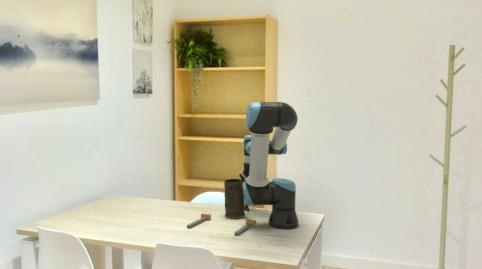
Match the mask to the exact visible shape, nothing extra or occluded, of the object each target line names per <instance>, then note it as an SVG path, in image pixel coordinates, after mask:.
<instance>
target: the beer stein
mask: <svg viewBox="0 0 482 269" xmlns="http://www.w3.org/2000/svg"><path fill="white" fill-rule="evenodd" d="M223 184H224V211H225V216H224V217H225V218H227V219H240V218H244V217H245V216H246V213H245V212H250V208H249V206H250V205H246V204H245V200H244V193H243V182H242V180H241V178H240V179H239V178H231V179H226V180H224V183H223Z"/></svg>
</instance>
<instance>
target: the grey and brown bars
mask: <svg viewBox="0 0 482 269" xmlns="http://www.w3.org/2000/svg"><path fill="white" fill-rule="evenodd" d="M206 221H208V222H209V221H212V214H211V213H204V212H202V213H201V214H200V218H199V219H196V220H194V221H193V222H191V223H189V224H187V225H186V228H187V229H188V230H190V229H193V228H195V227H197V226H199V225H200V224H202V223H204V222H206ZM255 227H257V220H256V219H249V218H247V219H245V225H244V226H242V227H241V228H239V229H238V230H236V231H235V232H234V236H236V237H239V236H241V235H242V234H244V233H245V232H247V231H248V230H250V229H252V228H255Z"/></svg>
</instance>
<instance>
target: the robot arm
mask: <svg viewBox="0 0 482 269" xmlns="http://www.w3.org/2000/svg"><path fill="white" fill-rule="evenodd" d="M298 119H299V118H298V114H297V111H296V110H295V109H294V107H293V106H291V104H288V103H287V102H282V101H255V102H250V103H249V104H248V105H247V108H246V112H245V119H244V120H245V122H244V123H245V127H246V128H247V129H248V131H249V133H250V134H246V135H244V136H243V171H242V172H241V173H239V174H238V175H239V178H240V180H242V182H243V193H244V204H246V205H249V206H253V207H254V206H255V207H256V206H272V208H271V212H270V216H269V218H268V226H269V227H271V228H274V229H278V230H279V229H280V230H291V229H295V228H298V227H299V218H298V215H297V211H296V194H297V193H296V192H297V190H296V183H295V182H294V181H293V180H290V179H287V178H280V177H275V178H272V180H271V181H270V178H268V175H267V174H268V164H269V163H268V162H269V155H272V156H273V155H277V156H278V155H279V156H281V155H286V154H287V151H288V143H287V140H288V138H289V136H290V134H291V133H292V130H294V129H295V128H296V126H297V124H298ZM274 128H275V129H274ZM272 133H273V135H272V138H271V140H270V135H271V134H272Z"/></svg>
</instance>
